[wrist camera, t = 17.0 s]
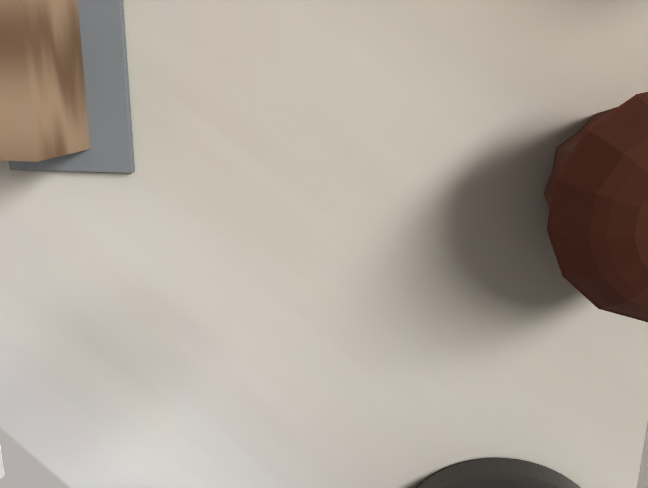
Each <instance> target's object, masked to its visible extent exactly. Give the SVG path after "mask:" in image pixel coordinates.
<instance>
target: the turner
mask: <svg viewBox="0 0 648 488" xmlns="http://www.w3.org/2000/svg"><path fill="white" fill-rule="evenodd" d="M88 149H90V140H89V128H88V117H87V105H86V93H85V81H84V69H83V57H82V45H81V34H80V22H79V10H78V0H0V161H31V162H38V161H42V160H46V159H50V158H54V157H59V156H63V155H67V154H71V153H75V152H79V151H84V150H88Z"/></svg>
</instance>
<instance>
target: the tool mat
mask: <svg viewBox="0 0 648 488" xmlns="http://www.w3.org/2000/svg"><path fill="white" fill-rule="evenodd" d="M78 10H79V22H80V34H81V45H82V57H83V69H84V81H85V93H86V105H87V117H88V128H89V140H90V149H88V150H84V151H79V152H75V153H71V154H67V155H63V156H59V157H54V158H50V159H46V160H42V161H38V162H31V161H9V162H10V169H15V170H50V171H85V172H120V173H132V172H135V169H134V154H133V140H132V125H131V111H130V96H129V82H128V67H127V53H126V38H125V24H124V9H123V0H78Z"/></svg>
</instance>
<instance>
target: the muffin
mask: <svg viewBox="0 0 648 488" xmlns="http://www.w3.org/2000/svg"><path fill="white" fill-rule="evenodd" d="M544 195H545V198H546V201H547V203H548V206H549V209H550V213H549V220H548V227H547V231H548V234H549V237H550V240H551V243H552V246H553V249H554V252H555V255H556V258H557V261H558V264H559V266H560V269H561V272H562V275H563V277H564V278H565V279H566V280H568V281H569V282H570V283H571V284H572V285H573V286H574V287H575V288H576V289H577V290H579V291H580V292H581V293H582V294H583V295H584V296H585V297H586V298H587V299H588V300H590V301H591V302H592V303H593V304H594V305H595V306H596V307H597V308H598V309H602V310H605V311H609V312H613V313H616V314H620V315H624V316H627V317H631V318H635V319H638V320H642V321H645V322H648V92H645V93H640V94H636V95H635V96H633V97H632V98H631V99H629V100H628V101H626V102H625V103H623V104H622V105H620V106H619V107H616V108H613V109H610V110H607V111H604V112H600V113H597V114H595V115H594V116H593V117H592V118H591V119H590V120H589V121H588V122H587V123H586V124H585V125H584V126H583V127H582V128H581V129H580V130H579V131H578V132H577V133H576V134H575V135H573V136H572V137H571V138H569V139H568V140H566V141H565V142H564V143H562V144H561V145H559V146H558V147H557V148H556V153H555V159H554V165H553V171H552V174H551V176H550V179H549V182H548V184H547V187H546V190H545V192H544Z"/></svg>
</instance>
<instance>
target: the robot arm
mask: <svg viewBox="0 0 648 488" xmlns="http://www.w3.org/2000/svg"><path fill="white" fill-rule="evenodd" d="M4 475H5V474H4V467H3V460H2V453H1V446H0V479H1V478H2V477H3V476H4ZM416 488H580V487H579V486H578V485H577V484H575V483H574V482H573V481H571V480H570V479H568V478H567V477H565V476H563V475H562V474H560V473H558V472H556V471H554V470H552V469H550V468H547V467H544V466H542V465H539V464H535V463H532V462H528V461H523V460H517V459H508V458H487V459H478V460H472V461H468V462H463V463H460V464H457V465H454V466H451V467H448V468H446V469H444V470H442V471H440V472H438V473H436V474H434V475H433V476H431V477H429V478H428V479H426V480H425V481H424V482H422V483H421V484H420V485H419V486H418V487H416ZM637 488H648V424H647V430H646V436H645V442H644V448H643V454H642V460H641V466H640V472H639V478H638V484H637Z"/></svg>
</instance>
